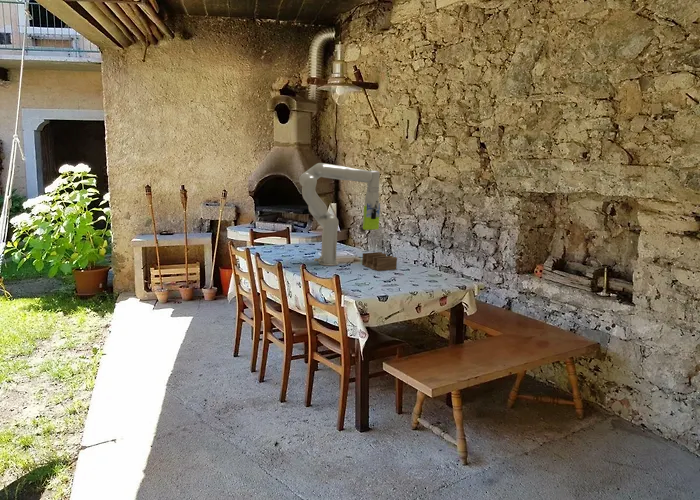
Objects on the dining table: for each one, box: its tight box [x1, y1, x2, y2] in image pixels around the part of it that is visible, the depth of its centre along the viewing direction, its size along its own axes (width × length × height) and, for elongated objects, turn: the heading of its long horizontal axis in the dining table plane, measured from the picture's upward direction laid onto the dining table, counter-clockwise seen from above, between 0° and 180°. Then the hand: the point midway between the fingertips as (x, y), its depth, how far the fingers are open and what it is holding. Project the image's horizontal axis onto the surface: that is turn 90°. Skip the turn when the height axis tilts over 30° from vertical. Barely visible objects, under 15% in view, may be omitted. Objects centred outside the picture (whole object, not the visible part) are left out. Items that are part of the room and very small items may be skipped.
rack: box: [361, 251, 398, 272], centre depth 352 cm, size 18×14×8 cm
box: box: [362, 202, 381, 231], centre depth 360 cm, size 10×4×17 cm, turn 120°
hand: (371, 218), depth 360 cm, fingers closed on box, 4 cm apart
